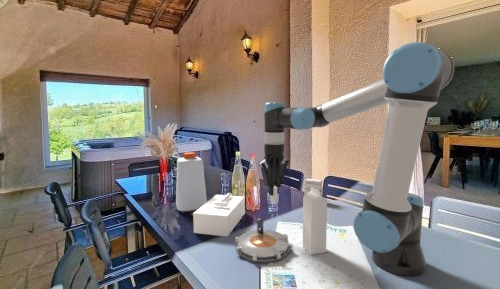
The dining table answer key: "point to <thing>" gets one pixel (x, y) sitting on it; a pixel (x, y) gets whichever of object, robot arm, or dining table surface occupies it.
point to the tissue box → (219, 215)
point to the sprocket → (262, 243)
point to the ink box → (313, 185)
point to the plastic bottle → (190, 183)
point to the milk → (314, 222)
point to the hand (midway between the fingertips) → (273, 202)
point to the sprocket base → (262, 259)
